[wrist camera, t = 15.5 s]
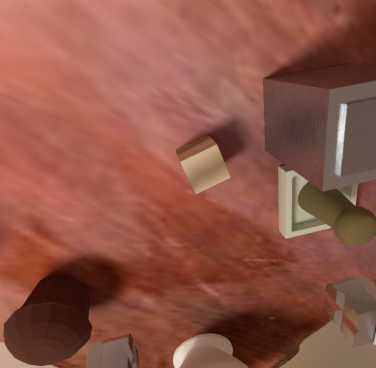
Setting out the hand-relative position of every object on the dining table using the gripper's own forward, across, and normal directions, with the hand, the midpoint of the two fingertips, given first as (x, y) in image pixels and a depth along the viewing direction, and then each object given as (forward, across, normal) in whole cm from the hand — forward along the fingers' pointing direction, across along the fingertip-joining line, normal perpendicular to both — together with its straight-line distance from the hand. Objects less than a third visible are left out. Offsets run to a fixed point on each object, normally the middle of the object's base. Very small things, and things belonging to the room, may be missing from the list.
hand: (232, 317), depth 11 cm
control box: (+29, -20, 0) cm, 35 cm away
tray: (+29, -22, +14) cm, 39 cm away
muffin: (+29, +22, +23) cm, 43 cm away
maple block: (+29, -4, +4) cm, 30 cm away
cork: (+29, -22, +14) cm, 39 cm away
